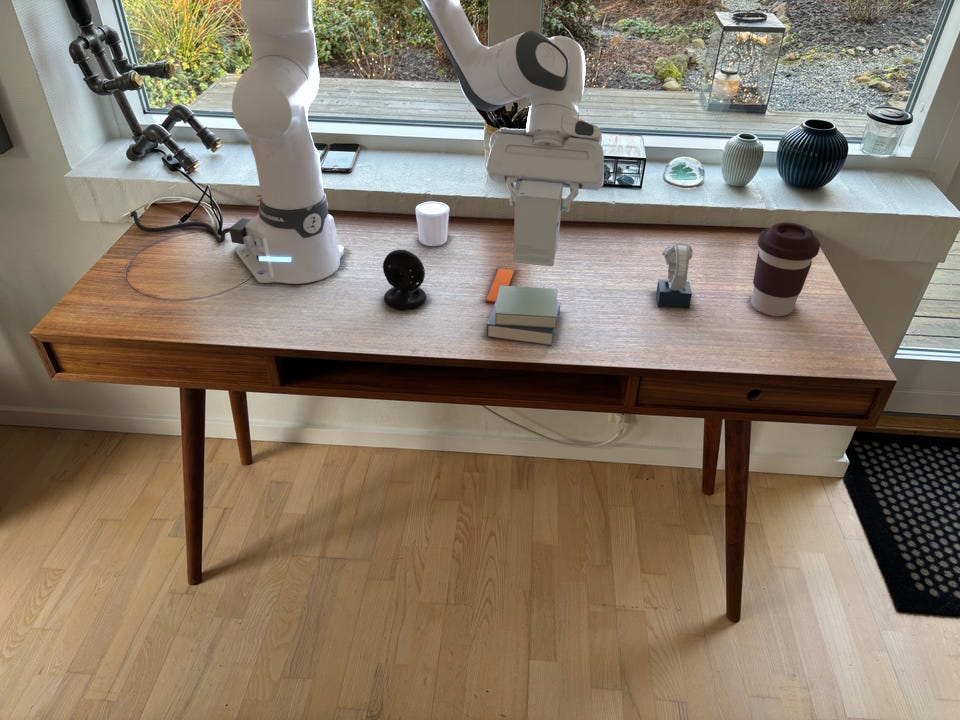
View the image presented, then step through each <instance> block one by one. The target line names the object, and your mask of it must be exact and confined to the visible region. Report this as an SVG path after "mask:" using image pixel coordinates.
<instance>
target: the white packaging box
mask: <svg viewBox="0 0 960 720" xmlns="http://www.w3.org/2000/svg"><path fill="white" fill-rule="evenodd" d="M563 188H564V187H563V183H562V182H551V181H539V180H525V179H522V181H521V183H519V187H518V189H517V192H516V193H515V194H516V201H515V206H514V225H513V243H512V244H513V248H512V263H514V264H515V263H517V264H523V265H525V264H526V265H534V266H543V267H553V266H554V265H555V258H556V255H557V251H558V248H559V238H560V228H561V227H560V226H561V215H562V211H560V207H561V199H562V198H563Z"/></svg>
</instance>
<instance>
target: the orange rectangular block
mask: <svg viewBox="0 0 960 720" xmlns="http://www.w3.org/2000/svg"><path fill="white" fill-rule="evenodd" d="M514 273H515V269H507V268H498V270H497V272H496V274H495V277H494V279H493V281H492V285H491V287H490V290H489V291H488V294H487V296H486V298H485V302H486V303H493V304H495V302H496V300H497V297H498V293H499V287H500V286H510V284H511V281H512V279H513V277H514Z"/></svg>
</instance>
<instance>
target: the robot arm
mask: <svg viewBox="0 0 960 720" xmlns="http://www.w3.org/2000/svg"><path fill="white" fill-rule="evenodd" d="M419 2H420V4H421V7H422V9H423V11H424V12H425V15H426V18H427V19H428V21H429V23H430V24H431V27H432V29H433V30H434V32H435V34H436V36H437V38H438V40H439V41H440V43H441V45H442V47H443V49H444V51H445V53H446V55H447V56H448V59H449V60H450V62H451V65H452V66H453V69H454V71H455V74H456V76H457V80H458V82H459V86H460V89H461V91H462V93H463V95H464V98H466V100H467V101H468V102H469V103H470V104H471V105H472V106H474V107H475V108H476V109H478V110H480V111H483V112H486V113H487V112H494V111H496V110H499V109H501V108H503V107H504V106H507V105H508V104H509V103H513V102H515V101H518V100H521V99H524V98H525V99H526V100H528V101H529V103H530V106H529V109H528V113H527V114H528V115H527V121H526V126H525V127H526V128H525V129H522V128H520V129H519V128H508V127H500V129H497V130H495V131H494V132H492V133H491V136H490V140H489V149H490V151H489V154H488V156H487V161H486V165H485V171H486V174H487V175H488V178H489V179H490V180H491V181H495V182H505V184H506V187H507V190H508V193H509V195H510V196H509V206H510V207H515V201H516V194H517V193H515V190H514V189H515V188H516V186H517V184H521V181H522V179H525V180H539V181H551V182H562V183H563V188H567V189H568V188H569V194H568V195H567V197H566V198H563V197H562V199H561V207H560V211H561V212H566V213H569V212H570V209H571V203H573V201H574V200H575V199H576V198H577V197H578V195H579V192H580V190H589V191H599V190H600V189H601V188H602V187H603V186H604V177H605V156H604V155H605V154H604V148H603V146H602V142H603V136H602V135H603V134H602V130H601V128H600V126H598V125H597V124H594V123H591V122H588V121H586V120H583V119H581V118H580V111H579V106H580V103H581V101H582V99H583V96H584V89H585V80H586V59H585V57H586V56H585V52H584V50H583V47H582V46H581V45H580V44H579V42H577V41H576V40H574V39H573V38H570V37H568V36H563V35H556V36H555V35H554V36H551V37H547V36H546V35H544V34H542V33H541V32H539V31H537V30H536V31H535V30H528V31H525V32H522V33H519V34H516V35H515V36H512V37H509V38H507V39H505V40H504V41H502V42H499V43H497V44H495V45H493V46H490V47H488V46H485V45H483V44H482V43H481V42H480V41H479V39H478V37H477V35H476V33H475V31H474V29H473V27H472V25H471V23H470V21H469V19H468V16H467V14H466V13H465V10H464V9H463V7H462V4H461V0H419ZM240 12H241V13H240V14H241V16H242V18H243V21H244V22H245V25H246V28H247V32H248V37H249V43H250V48H251V60H250V65H249V67H248V68H247V69H246V70H245V71H244V72H243V74H241V75H240V77H239V78H238V80H237V82H236V84H235V87H234V90H233V95H232V98H231V99H232V100H231V111H232V114H233V117H234V120H235V121H236V123H237V124H238V125H239V127H240V128H241V129H242V130H243V131H244V133H245V135H246V138H247V141H248V143H249V146H250V149H251V152H252V155H253V158H254V161H255V166H256V173H257V178H258V179H257V180H258V185H259V189H260V194H259V195H256V198H257V200H256V202H259V206H258V213H257V215H255V216H254V217H253V218H245V217H242V218H240V219H239V220H238V221H237V222H235V223H234V224H233V225H232V226H230V227H226V228H224V229H222V230H221V231H220V234H219V233H218V232H217V230H216V229H215V227H213V226H212V225H210V224H209V223H206V222H202V221H190V222H189V221H188V222H182V223H177V224H171V225H166V226H161V227H147V226H144V225H143V224H142V223H141V222H140V220H139V216H138V211H136V210H132V211H131V213H130V217H133V221H134V224H135V226H137V228H138V229H140V231H144V232H150V233H159V232H166V231H172V230H177V229H182V228H187V227H202V228H205V229H207V230H209V231H210V232H211V233H212V235H213V236H214V238H215V239H216V241H217V242H219V243H223V242H225V240H226V234H227V233H229V235H230V241H231V243H232V244H238V245H236V247H235V253H236V254H237V256H238V257H239V259H240V260H241V262H243V264H244V265H245V266H246V268H247V269H248V270H249V272H250V273H251V274H252V276H253V277H254V278H255V280H256V281H257V282H258V283H260V284H271V283H272V284H273V283H281V284H289V285H302V284H308V283H310V284H311V283H314V282H318V281H321V280H324V279H326V278H328V277H330V276H332V275H333V274H335V273H336V272H337V271H338V270H339V268H340V266H341V258H342V257H343V255H344V254H345V247H344V246H343V245H340V244H339V240H338V234H337V229H336V224H335V220H334V217H333V216H332V215H331V214H329V202H328V199H327V194H326V193H325V191H324V185H323V177H322V167H321V158H320V153H319V151H318V149H317V148H316V146H315V143H314V140H313V137H312V134H311V133H312V132H311V130H310V125H309V119H308V116H309V115H308V114H309V108H310V106H311V104H312V102H313V101H314V99H315V98H316V96H317V94H318V91H319V85H320V70H319V65H318V52H317V44H316V35H315V34H316V33H315V27H314V0H240Z"/></svg>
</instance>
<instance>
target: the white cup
mask: <svg viewBox="0 0 960 720" xmlns="http://www.w3.org/2000/svg"><path fill="white" fill-rule="evenodd" d="M415 217H416V225H417V231H418V232H417V233H418V239H419V243H421V244H422V245H424V246H429V247H438V246H442V245H444V244H446V243H447V241H448V232H449V231H448V229H449V219H450V206H449V205H448V204H446V203H444V202H439V201H426V202H422V203H419V204H418V205H416V207H415Z"/></svg>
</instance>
